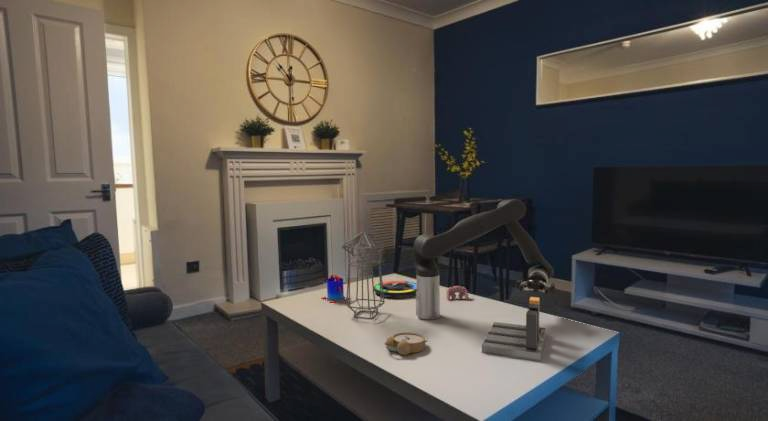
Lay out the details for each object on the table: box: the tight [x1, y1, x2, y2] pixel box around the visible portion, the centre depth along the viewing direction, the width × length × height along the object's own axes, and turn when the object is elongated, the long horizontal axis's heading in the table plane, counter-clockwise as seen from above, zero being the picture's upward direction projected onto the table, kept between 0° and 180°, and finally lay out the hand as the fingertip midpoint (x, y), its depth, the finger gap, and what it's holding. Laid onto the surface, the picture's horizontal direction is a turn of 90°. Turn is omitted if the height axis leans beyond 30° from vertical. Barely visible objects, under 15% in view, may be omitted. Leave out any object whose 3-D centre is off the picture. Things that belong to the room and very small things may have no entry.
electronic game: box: [374, 280, 417, 299], centre depth 212 cm, size 23×23×5 cm
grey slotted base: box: [481, 303, 547, 362], centre depth 146 cm, size 18×23×14 cm
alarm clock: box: [384, 332, 428, 356], centre depth 144 cm, size 11×5×15 cm
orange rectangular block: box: [528, 296, 541, 306], centre depth 150 cm, size 3×4×11 cm
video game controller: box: [445, 285, 469, 301], centre depth 199 cm, size 10×5×7 cm, turn 87°
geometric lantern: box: [340, 231, 388, 320], centre depth 179 cm, size 16×16×35 cm
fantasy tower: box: [320, 274, 352, 304], centre depth 203 cm, size 12×12×12 cm
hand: (533, 290), depth 161 cm, fingers open, 8 cm apart
